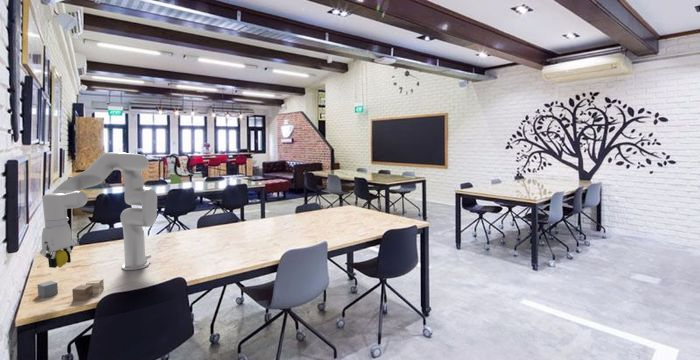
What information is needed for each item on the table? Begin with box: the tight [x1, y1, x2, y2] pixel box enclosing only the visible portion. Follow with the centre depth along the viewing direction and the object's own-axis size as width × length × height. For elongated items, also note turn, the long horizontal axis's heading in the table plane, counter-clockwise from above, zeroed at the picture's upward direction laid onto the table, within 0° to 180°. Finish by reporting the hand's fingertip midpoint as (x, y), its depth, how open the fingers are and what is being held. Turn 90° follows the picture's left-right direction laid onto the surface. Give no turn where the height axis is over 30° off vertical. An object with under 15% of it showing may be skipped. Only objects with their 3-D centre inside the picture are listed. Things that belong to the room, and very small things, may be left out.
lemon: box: [54, 249, 68, 268], centre depth 158 cm, size 6×6×8 cm
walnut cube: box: [71, 284, 94, 302], centre depth 159 cm, size 5×5×5 cm
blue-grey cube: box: [37, 280, 59, 299], centre depth 162 cm, size 5×5×5 cm
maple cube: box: [85, 278, 105, 295], centre depth 166 cm, size 5×5×5 cm
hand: (60, 264), depth 158 cm, fingers closed on lemon, 5 cm apart
